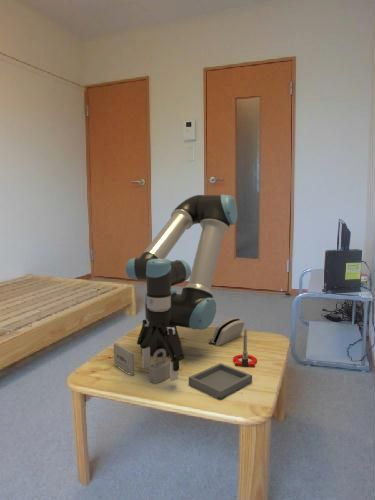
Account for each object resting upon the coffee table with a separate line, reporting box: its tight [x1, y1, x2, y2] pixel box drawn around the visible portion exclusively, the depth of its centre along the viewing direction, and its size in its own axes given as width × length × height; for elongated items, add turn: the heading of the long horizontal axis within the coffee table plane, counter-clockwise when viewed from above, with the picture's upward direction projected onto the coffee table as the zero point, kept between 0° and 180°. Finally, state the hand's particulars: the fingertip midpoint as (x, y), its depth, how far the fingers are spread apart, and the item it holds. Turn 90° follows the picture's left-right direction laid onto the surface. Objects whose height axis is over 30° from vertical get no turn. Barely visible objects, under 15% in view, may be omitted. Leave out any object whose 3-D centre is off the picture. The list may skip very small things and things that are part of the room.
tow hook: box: [232, 329, 258, 368], centre depth 140 cm, size 8×13×9 cm
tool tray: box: [188, 362, 253, 401], centre depth 123 cm, size 13×15×2 cm
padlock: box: [148, 349, 170, 385], centre depth 126 cm, size 7×4×10 cm, turn 138°
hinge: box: [207, 317, 245, 347], centre depth 161 cm, size 17×5×10 cm, turn 139°
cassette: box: [113, 342, 135, 376], centre depth 134 cm, size 12×2×8 cm, turn 39°
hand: (159, 373), depth 127 cm, fingers open, 13 cm apart
